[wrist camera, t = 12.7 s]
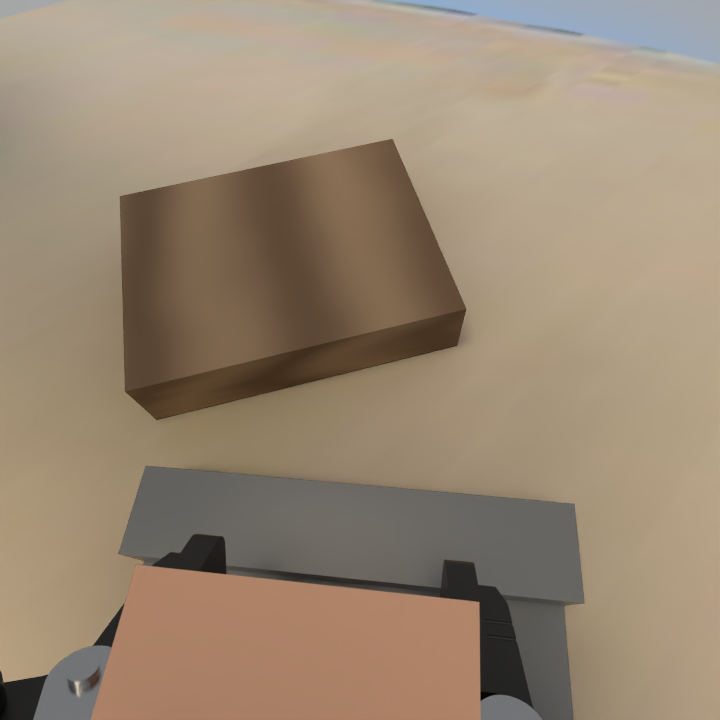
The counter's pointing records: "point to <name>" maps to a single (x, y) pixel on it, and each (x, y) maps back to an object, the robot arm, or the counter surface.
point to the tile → (287, 652)
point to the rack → (380, 547)
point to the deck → (279, 279)
